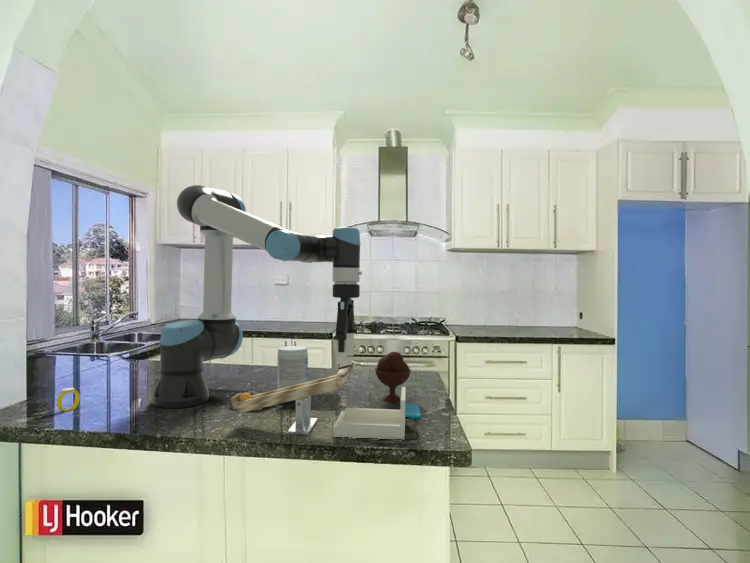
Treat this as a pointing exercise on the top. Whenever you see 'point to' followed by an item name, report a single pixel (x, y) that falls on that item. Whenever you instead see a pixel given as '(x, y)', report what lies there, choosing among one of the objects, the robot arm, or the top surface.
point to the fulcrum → (303, 417)
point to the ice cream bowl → (392, 373)
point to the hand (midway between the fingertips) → (345, 359)
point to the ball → (244, 397)
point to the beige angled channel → (293, 391)
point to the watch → (59, 399)
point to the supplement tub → (292, 366)
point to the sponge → (412, 410)
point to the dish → (372, 422)
